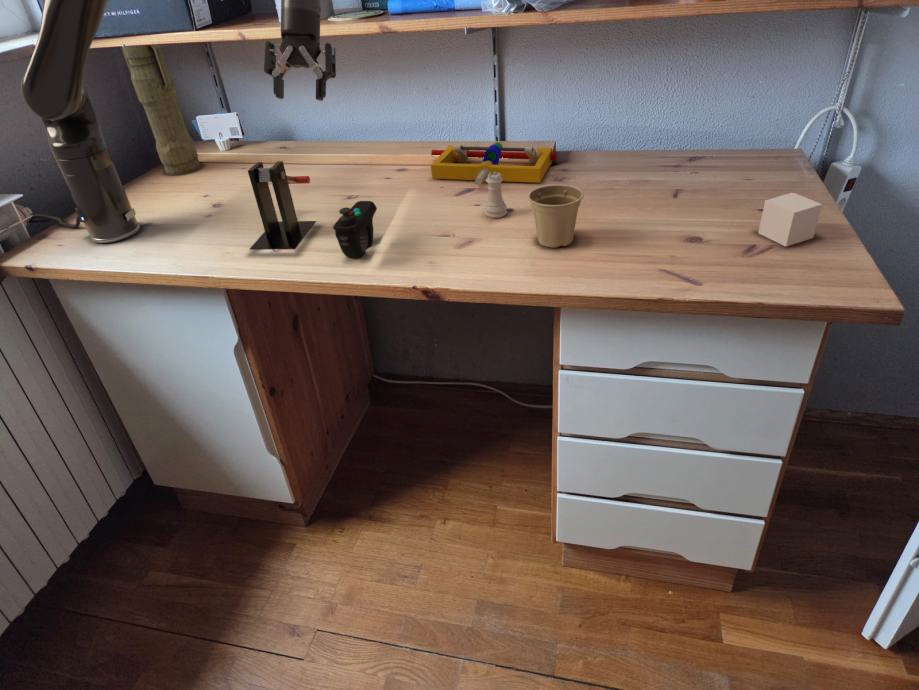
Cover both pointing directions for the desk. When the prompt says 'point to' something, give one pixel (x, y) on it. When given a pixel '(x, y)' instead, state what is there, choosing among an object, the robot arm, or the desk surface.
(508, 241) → the desk surface
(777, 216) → the beige cube
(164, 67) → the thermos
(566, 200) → the flower pot
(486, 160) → the mechanical clamp
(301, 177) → the lever
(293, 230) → the bracket
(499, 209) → the rook chess piece
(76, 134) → the robot arm
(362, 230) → the controller
